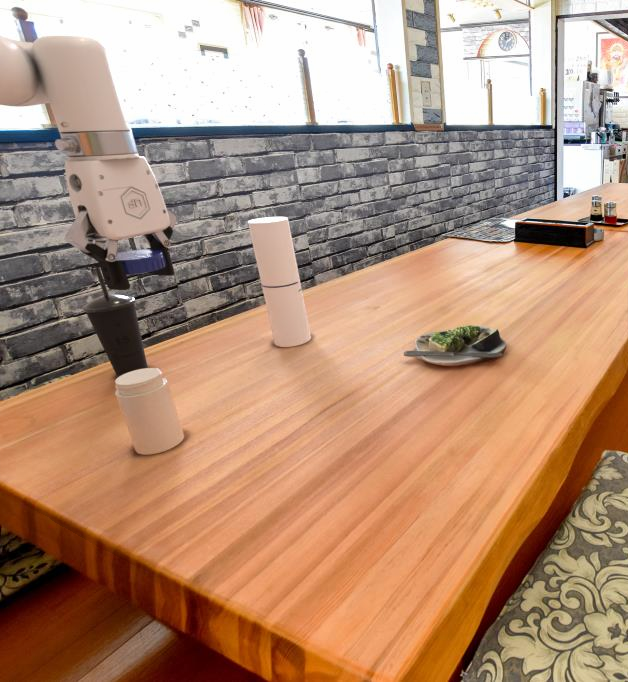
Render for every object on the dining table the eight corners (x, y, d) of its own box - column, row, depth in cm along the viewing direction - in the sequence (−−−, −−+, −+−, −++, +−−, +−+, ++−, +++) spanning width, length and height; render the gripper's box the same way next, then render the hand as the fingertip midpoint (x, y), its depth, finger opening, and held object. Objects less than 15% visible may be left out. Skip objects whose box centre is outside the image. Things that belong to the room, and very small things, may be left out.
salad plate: (411, 380, 91) (408, 356, 90) (397, 343, 107) (394, 322, 105) (516, 362, 97) (516, 339, 95) (489, 330, 113) (487, 309, 111)
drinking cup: (100, 375, 97) (61, 270, 90) (145, 360, 103) (113, 260, 96) (118, 385, 93) (79, 275, 86) (164, 369, 99) (131, 265, 92)
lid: (172, 268, 74) (168, 254, 74) (115, 277, 70) (111, 263, 69) (158, 260, 79) (155, 247, 78) (104, 269, 74) (100, 254, 73)
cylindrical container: (266, 344, 109) (239, 222, 100) (291, 332, 115) (267, 216, 106) (294, 348, 107) (268, 223, 97) (318, 336, 113) (296, 217, 103)
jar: (130, 458, 72) (105, 389, 68) (141, 436, 77) (118, 371, 73) (180, 448, 74) (158, 380, 70) (187, 427, 79) (167, 363, 75)
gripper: (55, 150, 59) (106, 302, 66) (179, 143, 75) (211, 267, 82) (5, 151, 61) (61, 299, 68) (137, 145, 77) (171, 265, 84)
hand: (142, 280), depth 75 cm, fingers closed on lid, 6 cm apart
